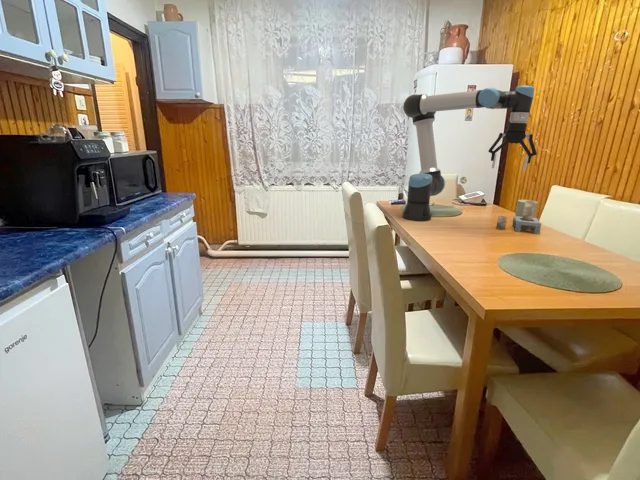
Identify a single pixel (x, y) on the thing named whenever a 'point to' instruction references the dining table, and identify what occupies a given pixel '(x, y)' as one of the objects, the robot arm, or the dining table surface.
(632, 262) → the dining table surface
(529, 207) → the long dowel
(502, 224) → the short dowel
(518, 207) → the can
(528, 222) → the square frame with posts
